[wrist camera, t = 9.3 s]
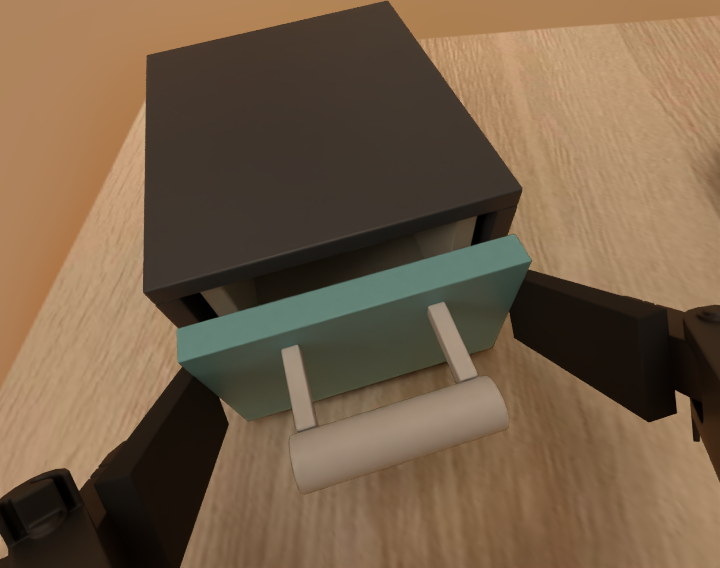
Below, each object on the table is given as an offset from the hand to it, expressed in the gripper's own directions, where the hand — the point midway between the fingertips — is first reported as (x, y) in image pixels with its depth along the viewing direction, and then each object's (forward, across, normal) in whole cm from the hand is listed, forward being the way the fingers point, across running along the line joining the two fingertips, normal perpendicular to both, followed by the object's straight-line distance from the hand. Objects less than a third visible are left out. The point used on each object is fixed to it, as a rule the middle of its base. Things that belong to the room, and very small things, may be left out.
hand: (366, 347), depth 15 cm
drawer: (+6, 0, +1) cm, 6 cm away
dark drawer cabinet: (+10, 0, +3) cm, 10 cm away
